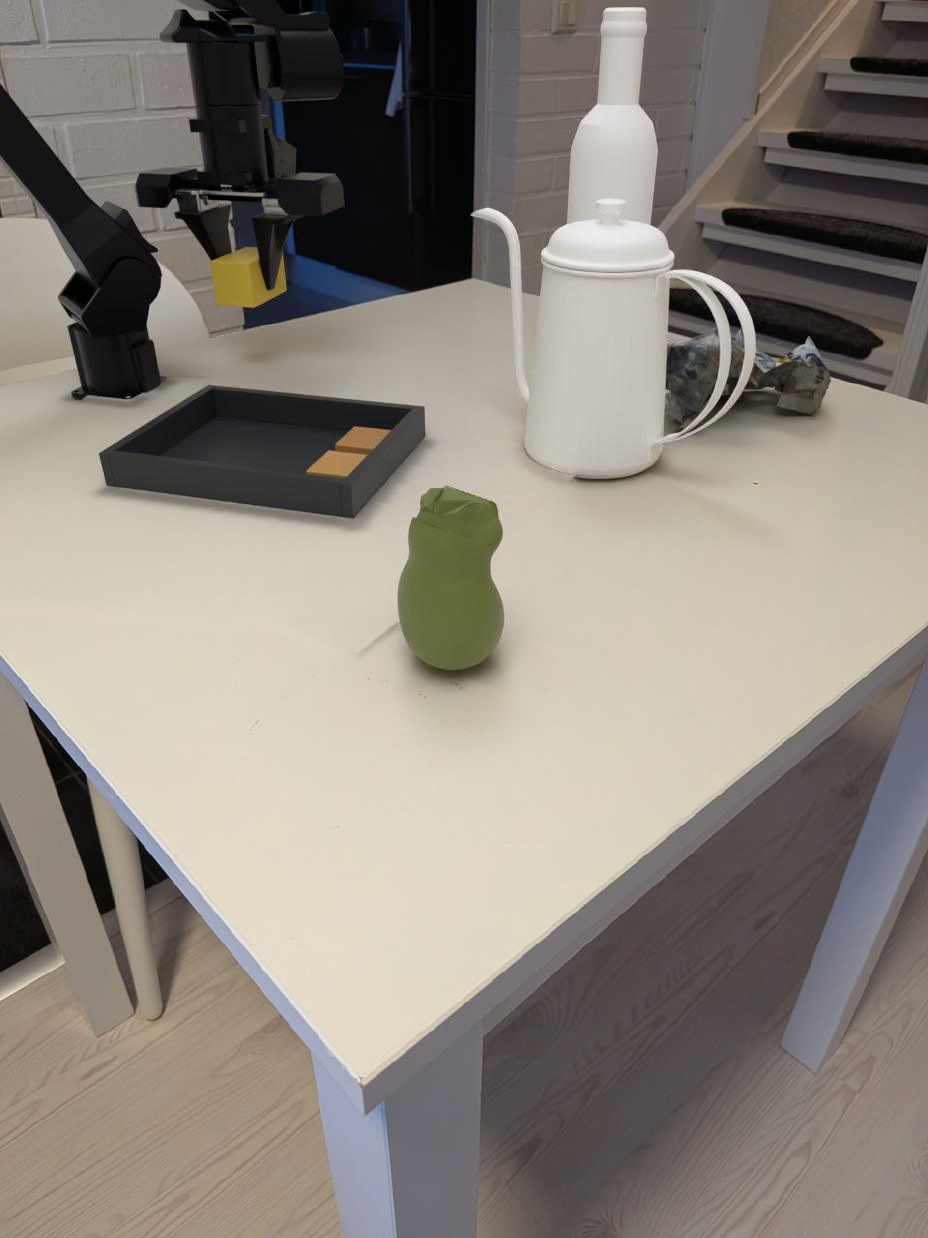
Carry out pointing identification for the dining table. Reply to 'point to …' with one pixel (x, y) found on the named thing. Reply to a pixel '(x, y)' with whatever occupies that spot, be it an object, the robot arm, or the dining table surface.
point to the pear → (451, 580)
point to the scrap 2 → (361, 440)
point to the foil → (699, 365)
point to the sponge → (243, 279)
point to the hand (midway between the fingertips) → (251, 287)
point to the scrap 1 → (335, 464)
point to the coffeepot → (607, 344)
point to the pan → (263, 449)
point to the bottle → (615, 128)
